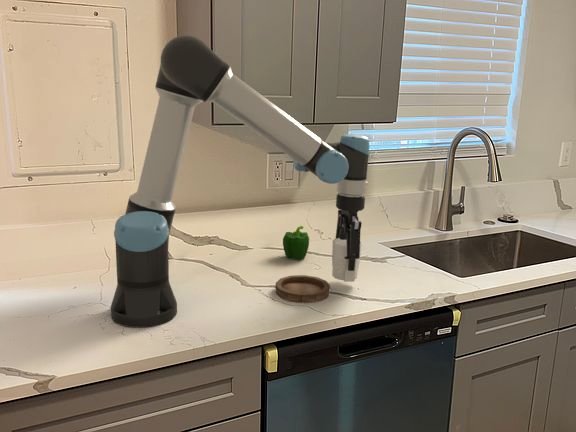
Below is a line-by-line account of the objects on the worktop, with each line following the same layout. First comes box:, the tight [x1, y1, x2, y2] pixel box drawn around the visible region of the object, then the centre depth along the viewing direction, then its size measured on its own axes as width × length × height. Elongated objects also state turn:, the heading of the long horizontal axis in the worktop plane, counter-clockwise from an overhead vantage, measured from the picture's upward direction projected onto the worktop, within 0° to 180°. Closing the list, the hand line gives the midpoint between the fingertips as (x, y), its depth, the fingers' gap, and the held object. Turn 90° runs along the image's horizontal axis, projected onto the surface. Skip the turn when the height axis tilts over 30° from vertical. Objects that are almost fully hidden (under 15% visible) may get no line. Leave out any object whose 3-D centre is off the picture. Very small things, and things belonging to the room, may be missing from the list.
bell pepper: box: [282, 225, 310, 261], centre depth 175 cm, size 8×8×10 cm
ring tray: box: [275, 274, 331, 304], centre depth 149 cm, size 14×14×2 cm
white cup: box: [331, 237, 363, 281], centre depth 153 cm, size 8×8×10 cm
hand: (344, 275), depth 155 cm, fingers closed on white cup, 8 cm apart
